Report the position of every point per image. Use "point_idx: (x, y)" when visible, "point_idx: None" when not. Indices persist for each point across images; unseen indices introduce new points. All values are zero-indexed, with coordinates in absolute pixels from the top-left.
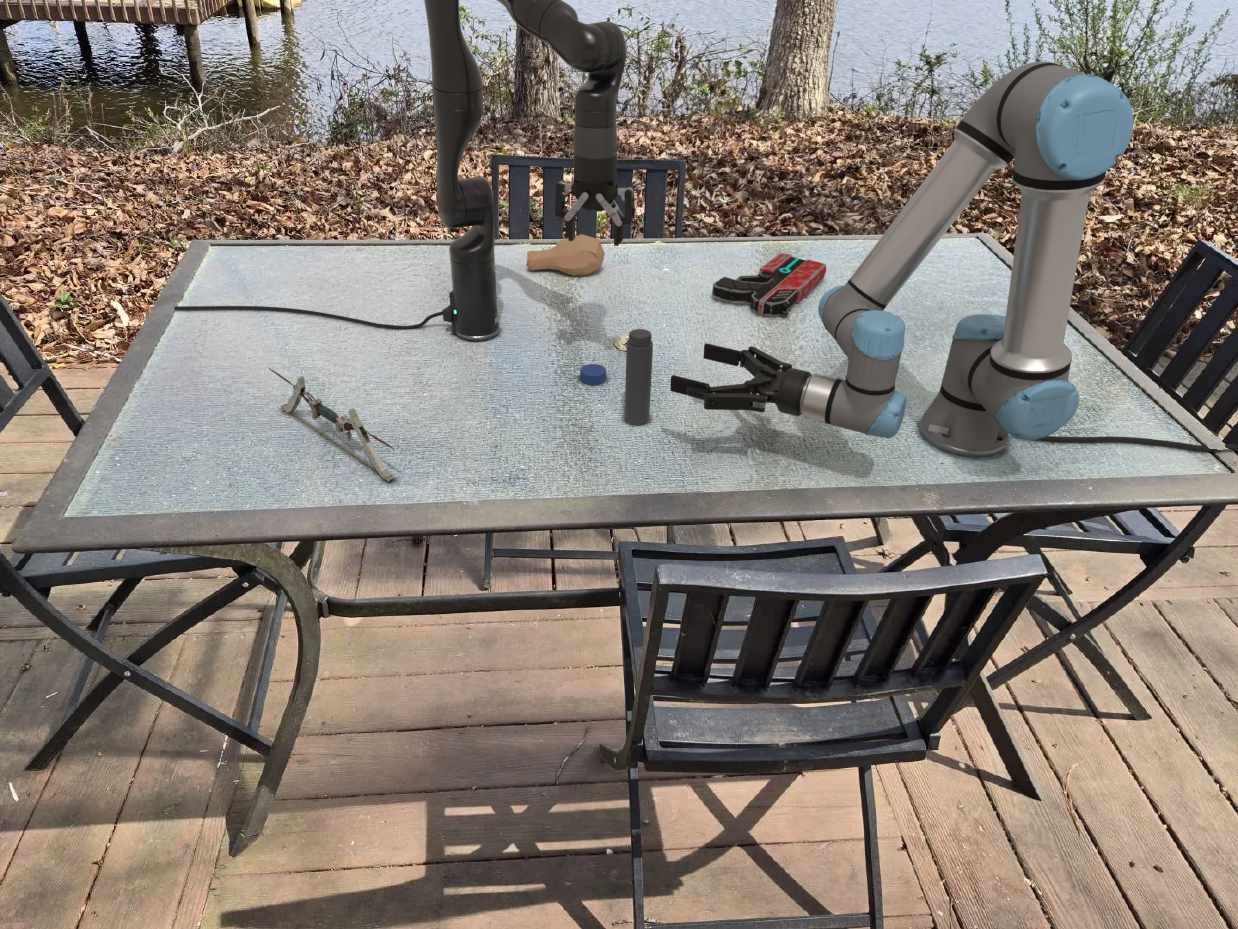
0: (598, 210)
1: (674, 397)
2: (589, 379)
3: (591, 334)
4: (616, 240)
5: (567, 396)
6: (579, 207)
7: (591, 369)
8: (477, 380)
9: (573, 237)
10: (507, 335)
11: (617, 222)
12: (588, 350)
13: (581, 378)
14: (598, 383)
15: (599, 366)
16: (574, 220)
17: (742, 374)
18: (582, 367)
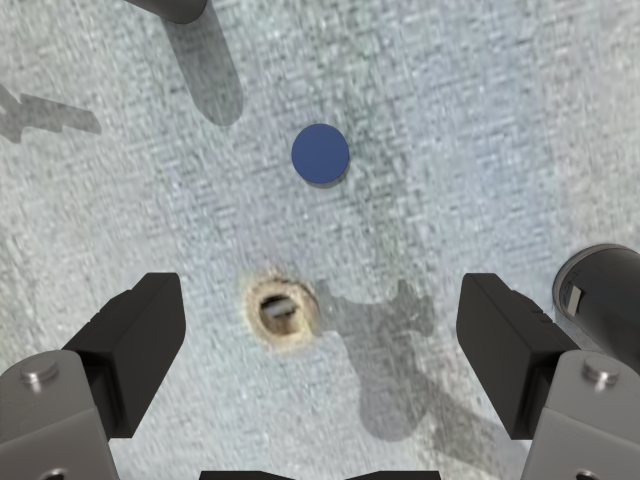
0: (245, 478)
1: (134, 118)
2: (321, 124)
3: (368, 330)
4: (143, 285)
5: (354, 56)
6: (533, 470)
7: (324, 155)
8: (567, 74)
9: (465, 307)
10: (532, 286)
11: (45, 369)
12: (358, 267)
13: (341, 134)
14: (302, 130)
15: (310, 174)
16: (509, 410)
17: (42, 249)
18: (345, 159)
